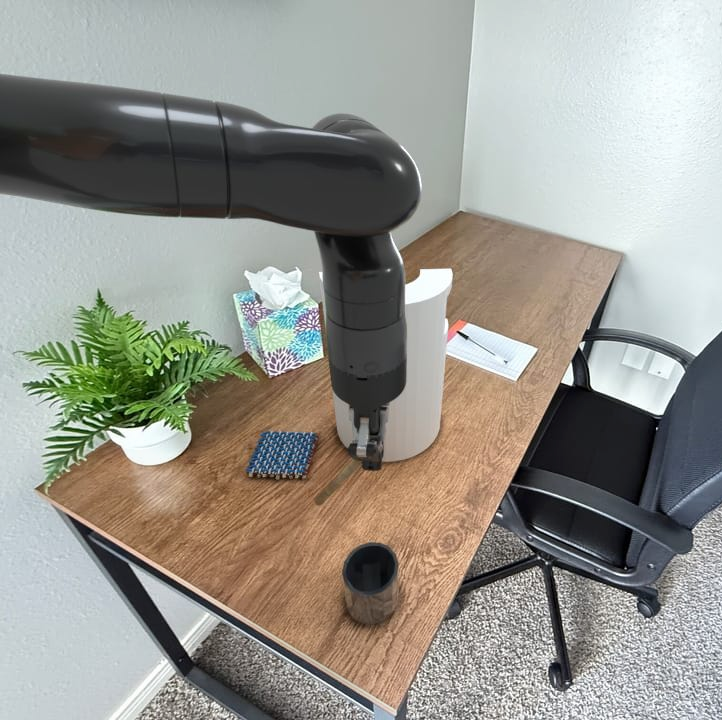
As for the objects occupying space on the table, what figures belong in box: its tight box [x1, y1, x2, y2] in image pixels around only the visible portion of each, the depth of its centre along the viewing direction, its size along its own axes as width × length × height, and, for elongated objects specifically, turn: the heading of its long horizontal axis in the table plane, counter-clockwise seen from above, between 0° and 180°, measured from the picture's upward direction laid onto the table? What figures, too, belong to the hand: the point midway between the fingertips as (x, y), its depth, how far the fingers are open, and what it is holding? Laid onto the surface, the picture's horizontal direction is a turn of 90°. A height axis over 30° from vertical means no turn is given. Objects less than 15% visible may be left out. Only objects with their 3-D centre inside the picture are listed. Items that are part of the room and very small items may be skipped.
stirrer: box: [314, 440, 374, 506], centre depth 57 cm, size 9×1×13 cm, turn 92°
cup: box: [341, 541, 400, 626], centre depth 66 cm, size 7×7×9 cm
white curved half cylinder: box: [318, 268, 454, 463], centre depth 82 cm, size 35×11×21 cm
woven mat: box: [245, 430, 319, 481], centre depth 86 cm, size 10×11×2 cm
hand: (373, 462), depth 56 cm, fingers closed on stirrer, 1 cm apart
